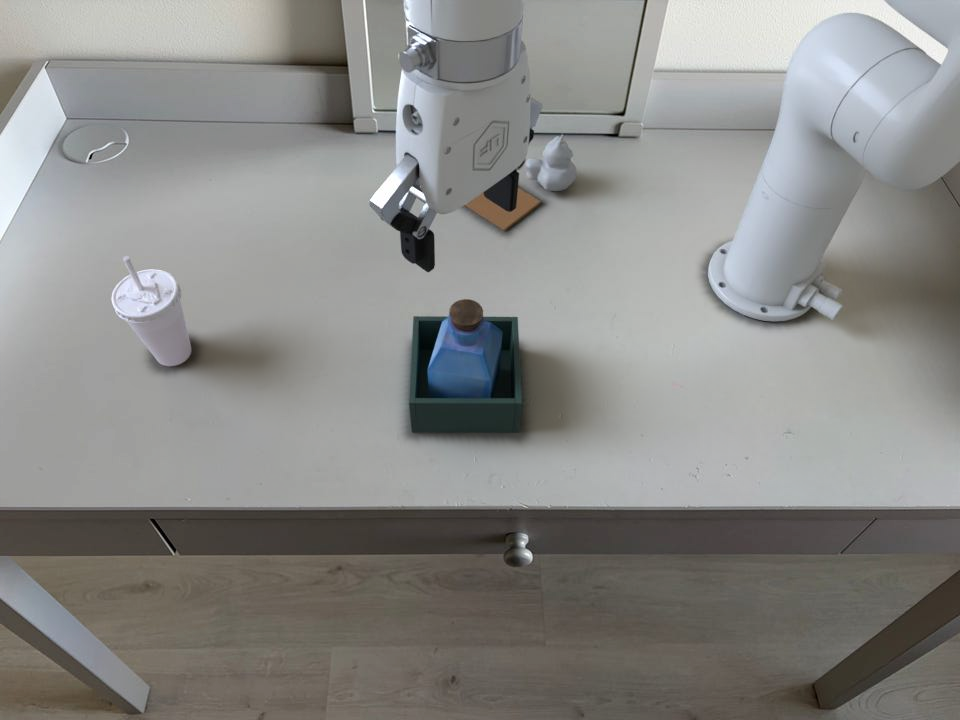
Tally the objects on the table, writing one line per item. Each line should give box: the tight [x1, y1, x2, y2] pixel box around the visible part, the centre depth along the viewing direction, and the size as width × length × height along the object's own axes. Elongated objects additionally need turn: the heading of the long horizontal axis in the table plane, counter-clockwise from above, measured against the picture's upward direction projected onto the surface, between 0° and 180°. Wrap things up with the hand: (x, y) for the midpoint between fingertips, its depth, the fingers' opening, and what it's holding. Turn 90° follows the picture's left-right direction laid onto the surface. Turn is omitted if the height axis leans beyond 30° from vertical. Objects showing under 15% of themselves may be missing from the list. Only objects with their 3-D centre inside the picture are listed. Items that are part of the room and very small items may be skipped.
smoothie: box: [110, 255, 192, 367], centre depth 78 cm, size 6×6×14 cm
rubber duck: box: [525, 133, 578, 192], centre depth 98 cm, size 5×7×8 cm
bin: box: [408, 315, 523, 433], centre depth 79 cm, size 11×11×5 cm
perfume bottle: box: [428, 298, 503, 398], centre depth 76 cm, size 6×6×12 cm
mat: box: [464, 187, 542, 232], centre depth 98 cm, size 7×7×1 cm
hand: (460, 231), depth 64 cm, fingers open, 9 cm apart
